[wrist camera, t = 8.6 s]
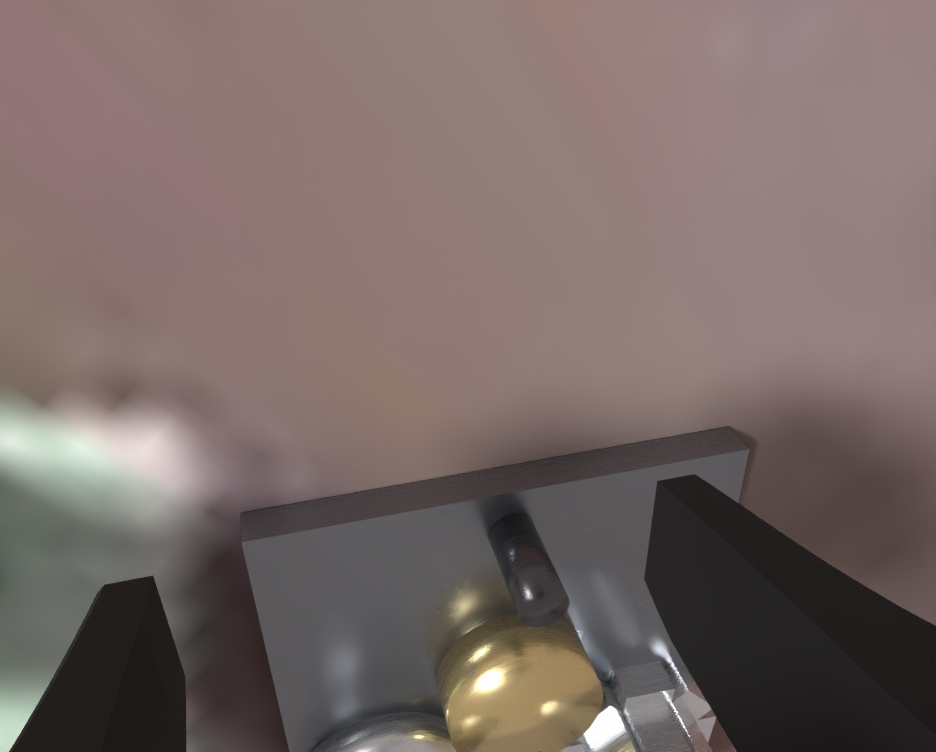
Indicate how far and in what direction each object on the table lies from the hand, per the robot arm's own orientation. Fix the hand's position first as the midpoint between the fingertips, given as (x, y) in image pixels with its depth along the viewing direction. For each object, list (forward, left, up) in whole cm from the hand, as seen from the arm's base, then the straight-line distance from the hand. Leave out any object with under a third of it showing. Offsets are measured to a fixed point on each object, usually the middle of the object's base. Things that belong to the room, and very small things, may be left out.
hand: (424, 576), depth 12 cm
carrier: (+4, -14, -10) cm, 18 cm away
